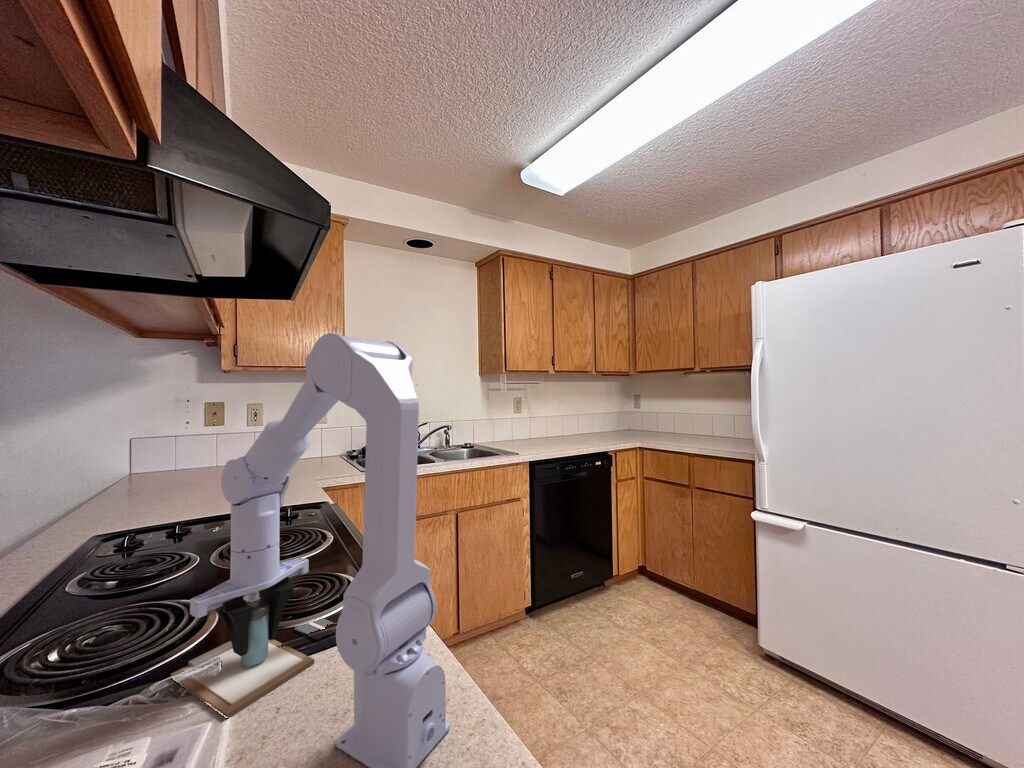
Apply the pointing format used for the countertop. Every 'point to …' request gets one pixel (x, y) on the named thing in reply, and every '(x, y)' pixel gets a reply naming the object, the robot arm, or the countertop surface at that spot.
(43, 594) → the countertop surface
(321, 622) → the plate
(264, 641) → the tumbler
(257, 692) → the clipboard
